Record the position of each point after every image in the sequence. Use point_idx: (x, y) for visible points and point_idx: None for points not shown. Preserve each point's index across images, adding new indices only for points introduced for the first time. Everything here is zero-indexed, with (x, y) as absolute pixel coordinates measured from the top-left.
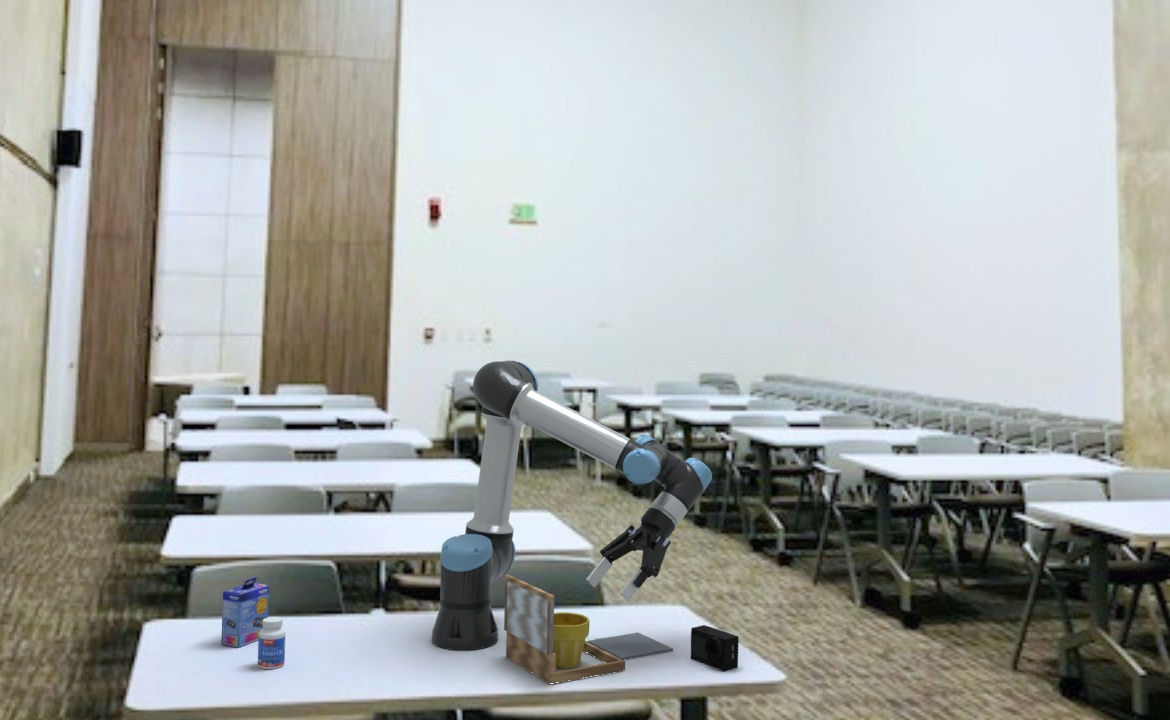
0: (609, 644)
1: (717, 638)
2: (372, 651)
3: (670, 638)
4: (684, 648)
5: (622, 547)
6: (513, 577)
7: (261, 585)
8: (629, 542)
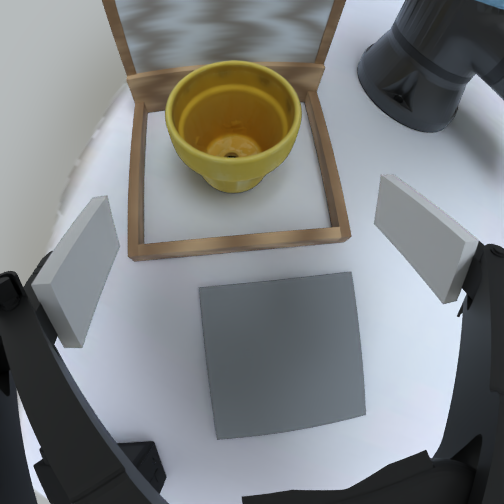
0: (306, 308)
1: (48, 463)
2: (371, 9)
3: (309, 471)
4: (227, 468)
5: (484, 355)
6: None
7: None
8: (483, 427)
